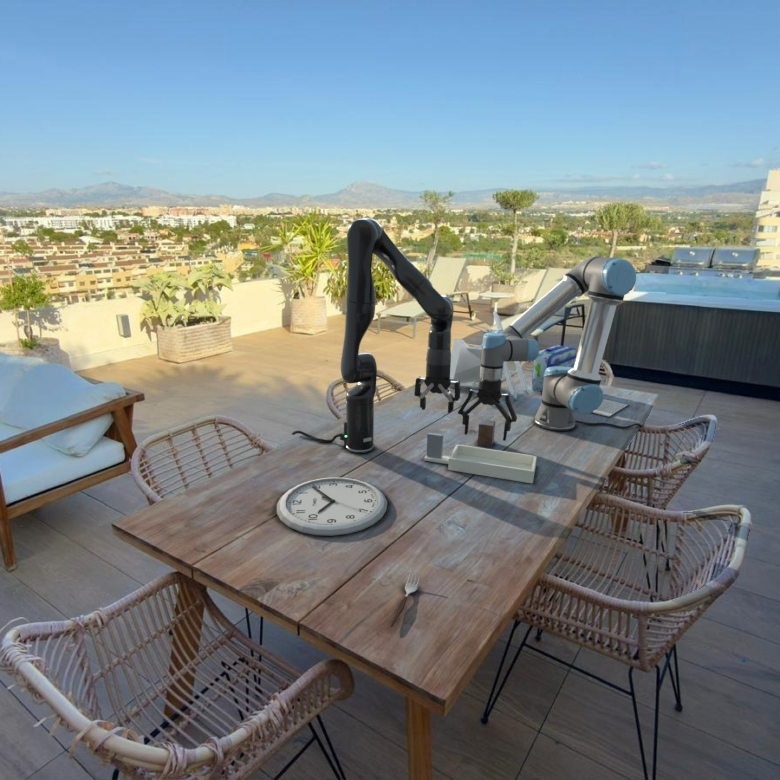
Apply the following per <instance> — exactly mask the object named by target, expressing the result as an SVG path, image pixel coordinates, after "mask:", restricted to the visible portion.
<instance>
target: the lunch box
mask: <svg viewBox="0 0 780 780" xmlns="http://www.w3.org/2000/svg"><path fill="white" fill-rule="evenodd" d="M576 355H577V348H576V347H571V346H565V345H553V346H550V347H546V348H545V349H542V350H539V355H538V357H537V358H536V359H535V360H533V365H532V376H531V377H532V378H531V390H532V391H533V392H537V393H542V391H543V382H544V373H545V370H546V369H547V368H548V367H557V366H560V367H572V368H573V367H574V363H575V359H576Z"/></svg>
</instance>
